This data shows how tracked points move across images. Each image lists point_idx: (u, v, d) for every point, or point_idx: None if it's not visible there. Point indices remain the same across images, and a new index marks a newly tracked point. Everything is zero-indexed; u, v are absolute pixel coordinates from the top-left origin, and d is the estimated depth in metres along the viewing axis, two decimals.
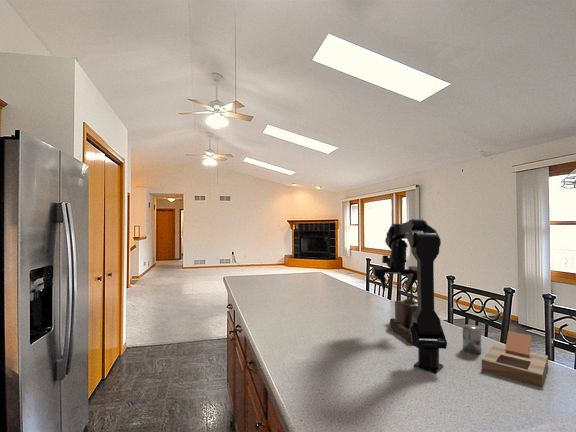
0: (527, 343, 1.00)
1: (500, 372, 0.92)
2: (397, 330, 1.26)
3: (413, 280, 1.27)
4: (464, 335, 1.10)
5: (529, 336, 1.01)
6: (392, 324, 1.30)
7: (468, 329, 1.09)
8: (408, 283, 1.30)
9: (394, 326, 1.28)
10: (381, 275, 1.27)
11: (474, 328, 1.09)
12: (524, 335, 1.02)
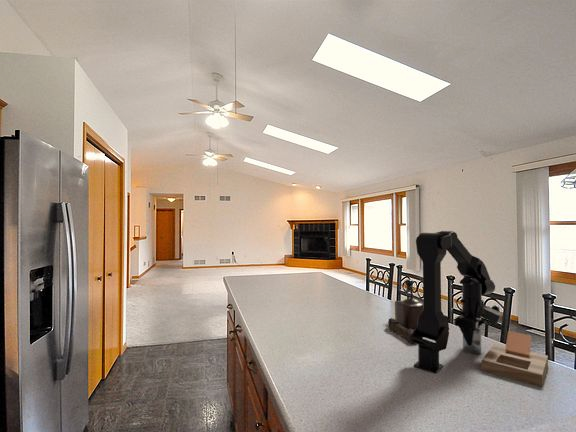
0: (527, 343, 1.00)
1: (500, 372, 0.92)
2: (396, 330, 1.25)
3: None
4: None
5: (529, 336, 1.01)
6: (391, 324, 1.30)
7: None
8: None
9: (393, 326, 1.28)
10: None
11: None
12: (524, 335, 1.02)
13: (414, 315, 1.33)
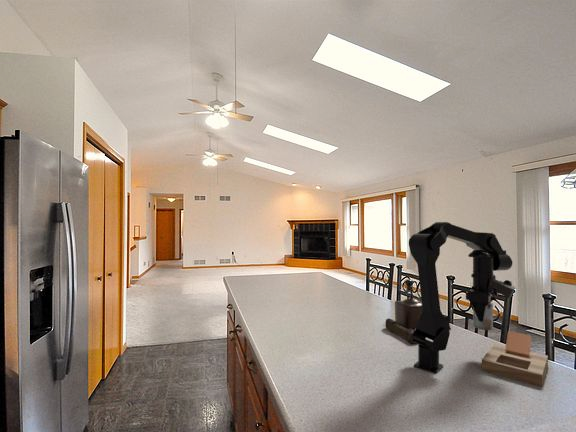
0: (527, 343, 1.00)
1: (500, 372, 0.92)
2: (395, 330, 1.25)
3: None
4: None
5: (529, 336, 1.01)
6: (389, 324, 1.30)
7: None
8: None
9: (391, 326, 1.28)
10: None
11: None
12: (524, 335, 1.02)
13: (414, 315, 1.33)
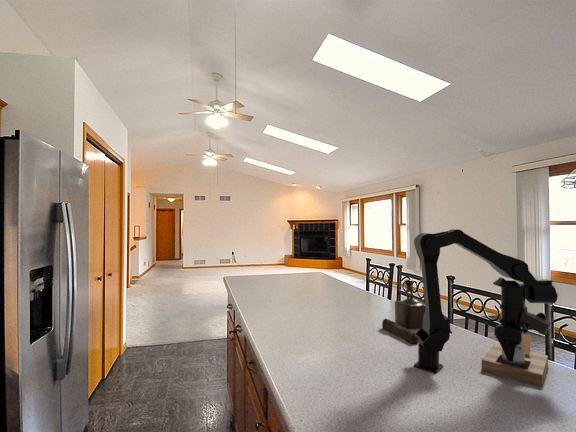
0: (527, 343, 1.00)
1: (500, 372, 0.92)
2: (394, 331, 1.25)
3: None
4: (504, 354, 0.94)
5: (529, 336, 1.01)
6: (386, 325, 1.29)
7: None
8: None
9: (389, 327, 1.27)
10: None
11: (516, 346, 0.93)
12: (524, 335, 1.02)
13: (414, 315, 1.33)
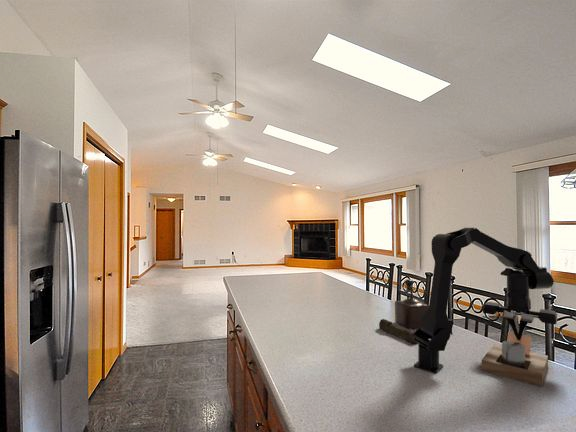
0: (527, 343, 1.00)
1: (500, 372, 0.92)
2: (392, 331, 1.24)
3: (522, 323, 0.99)
4: (504, 354, 0.94)
5: (529, 337, 1.01)
6: (384, 325, 1.29)
7: (510, 347, 0.93)
8: None
9: (387, 327, 1.27)
10: (491, 312, 1.05)
11: (516, 346, 0.93)
12: (525, 336, 1.02)
13: (414, 315, 1.33)
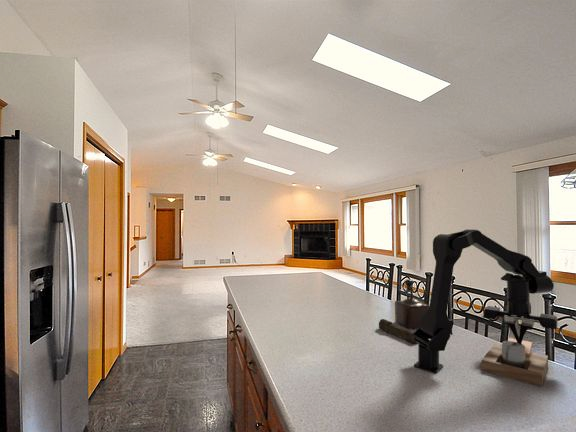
0: (528, 346, 1.01)
1: (500, 372, 0.92)
2: (392, 331, 1.24)
3: (523, 327, 1.00)
4: (504, 354, 0.94)
5: (530, 342, 1.02)
6: (384, 325, 1.29)
7: (510, 347, 0.93)
8: (520, 332, 1.02)
9: (387, 327, 1.27)
10: (491, 316, 1.05)
11: (516, 346, 0.93)
12: (525, 342, 1.03)
13: (414, 315, 1.33)
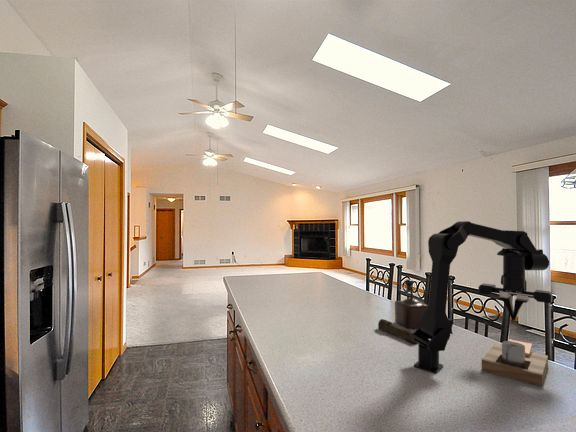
0: (528, 347, 1.01)
1: (500, 372, 0.92)
2: (392, 331, 1.24)
3: (517, 302, 1.00)
4: (504, 354, 0.94)
5: (530, 344, 1.03)
6: (383, 325, 1.28)
7: (509, 347, 0.93)
8: None
9: (387, 327, 1.27)
10: (486, 292, 1.05)
11: (516, 346, 0.93)
12: (525, 343, 1.03)
13: (414, 315, 1.33)
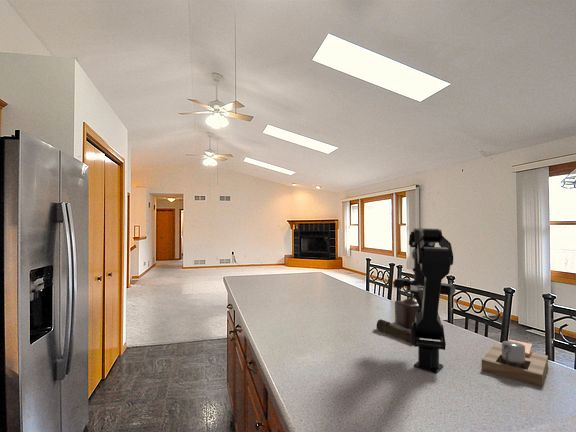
0: (528, 347, 1.01)
1: (500, 372, 0.92)
2: (391, 331, 1.24)
3: None
4: (504, 354, 0.94)
5: (530, 344, 1.03)
6: (382, 325, 1.28)
7: (510, 347, 0.93)
8: None
9: (386, 327, 1.26)
10: (399, 286, 1.12)
11: (516, 346, 0.93)
12: (525, 343, 1.03)
13: (414, 315, 1.33)
